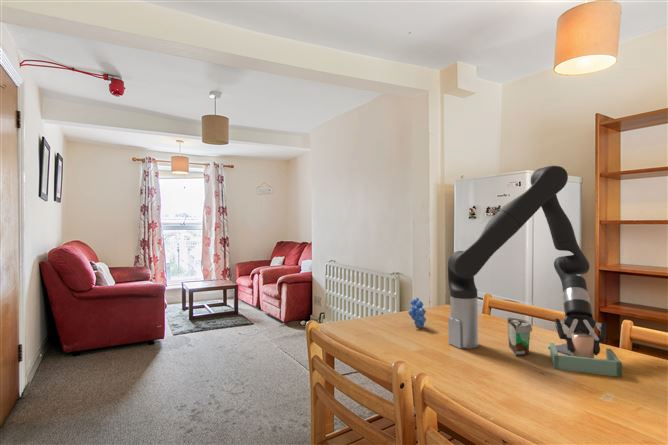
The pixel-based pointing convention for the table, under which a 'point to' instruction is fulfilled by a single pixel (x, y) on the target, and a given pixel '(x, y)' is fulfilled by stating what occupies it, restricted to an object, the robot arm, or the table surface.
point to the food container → (519, 336)
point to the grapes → (417, 312)
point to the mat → (563, 349)
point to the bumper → (587, 363)
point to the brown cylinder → (583, 345)
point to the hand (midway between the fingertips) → (584, 352)
